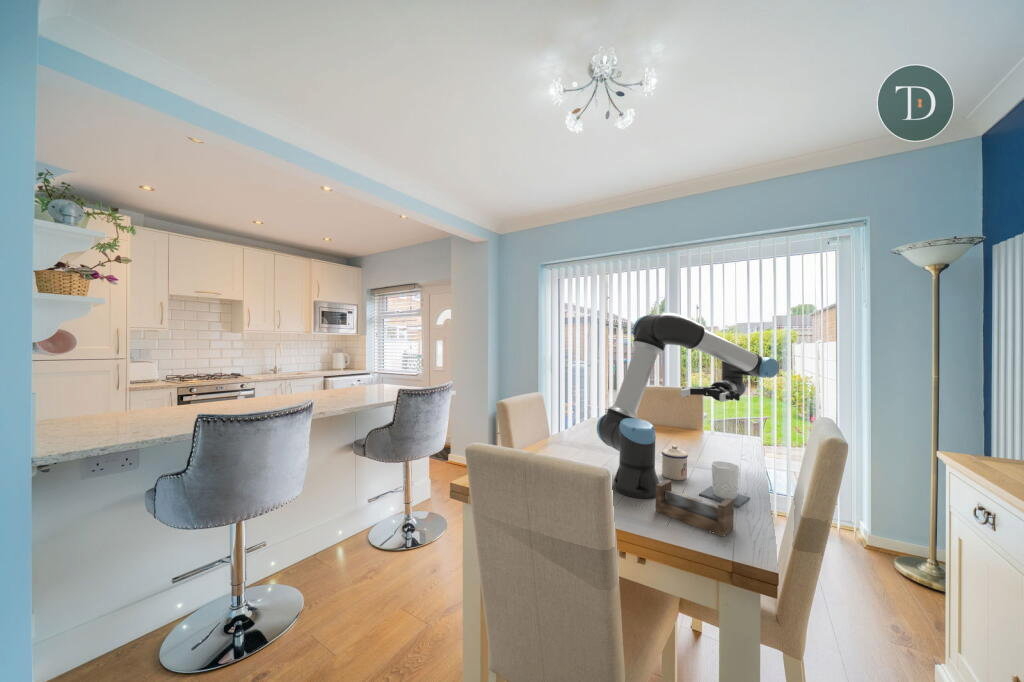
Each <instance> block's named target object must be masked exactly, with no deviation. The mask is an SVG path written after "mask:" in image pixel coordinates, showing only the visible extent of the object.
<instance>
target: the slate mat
mask: <svg viewBox="0 0 1024 682" xmlns="http://www.w3.org/2000/svg"><path fill="white" fill-rule="evenodd" d="M698 495H699V496H700V497H703V496H704V498H707V499H710V500H713V499H714V500H713V501H716V500H717V501H716V502H719V501H720V503H721V502H723V501H724V500H725V499H724V498H720V497H718V496H716V495H714V493H713V485H710V486H708V487H707V488H706V489H704V490H702V491H701V492H699V493H698ZM750 499H751V497H750V496H747V495H744V494H741V493H738V492H737V497H736V499H734V507H735V506H736V508H741V507H742V506H744V504H745V503H747V502H749V500H750ZM746 501H747V502H746ZM741 505H742V506H741ZM740 506H741V507H740Z"/></svg>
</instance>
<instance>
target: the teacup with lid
mask: <svg viewBox="0 0 1024 682" xmlns="http://www.w3.org/2000/svg"><path fill="white" fill-rule="evenodd" d="M661 454H662V456H661V458H662V459H661V462H662V465H661V475H662V476H663V477H664V478H665V479H666V478H667V479H668V480H672V479H673V480H674V481H684V480H686V479H687V478H688V457H689V456H688V453H687V452H686V451H684V450H682V449H680V448H678V445H675V444H674V445H673V444H672V445H671V447H669V448H665V449H663V450H662V451H661ZM673 480H672V481H673Z"/></svg>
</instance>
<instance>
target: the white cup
mask: <svg viewBox="0 0 1024 682" xmlns="http://www.w3.org/2000/svg"><path fill="white" fill-rule="evenodd" d="M739 475H740V466H739V465H738V464H734V463H731V462H728V461H718V460H717V461H712V462H711V481H712V486H713V493H714V495H716V496H718V497H720V498H724V499H727V498H731V499H736V497H737V493H738V488H739V478H740V477H739Z"/></svg>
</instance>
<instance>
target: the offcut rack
mask: <svg viewBox="0 0 1024 682" xmlns="http://www.w3.org/2000/svg"><path fill="white" fill-rule="evenodd" d="M672 482H673V480H672V479H669V478H667V479H665V480H663V481H661V482H659V484H657V485H656V497H655V512H656V513H658V514H661V515H665V516H667V517H670V518H672V519H675V520H678V521H680V522H683V523H686V524H688V525H690V526H694V527H697V528H699V529H701V528H702V530H704V529H705V531H707V530H708V531H707V532H709V531H711V532H710V533H712V532H714V533H713V534H715V533H716V534H715V535H717V534H719V535H718V536H720V535H722V536H721V537H723V536H724V535H725V536H727V533H728V532H729V531H730V532H731V531H732V530H733V529H734V518H735V517H734V515H735V513H734V509H735V508H734V507H735V506H734V499H731V498H727V499H725V500H724V501H723V502H720V503H718V504H714V503H711V502H709V501H704V500H702V499H698V498H695V497H693V496H689V495H686V494H683V493H681V492H676V491H674V490H673V489H672V487H673V486H672V484H673V483H672ZM731 529H732V530H731ZM730 532H729V533H730ZM729 533H728V534H729ZM725 536H724V537H725Z"/></svg>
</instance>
